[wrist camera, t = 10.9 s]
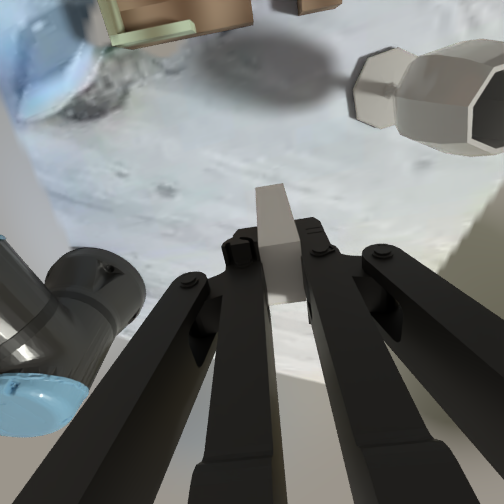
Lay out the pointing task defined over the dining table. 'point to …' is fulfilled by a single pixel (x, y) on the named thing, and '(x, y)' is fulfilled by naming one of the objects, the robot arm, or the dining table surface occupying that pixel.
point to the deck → (182, 18)
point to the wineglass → (438, 96)
